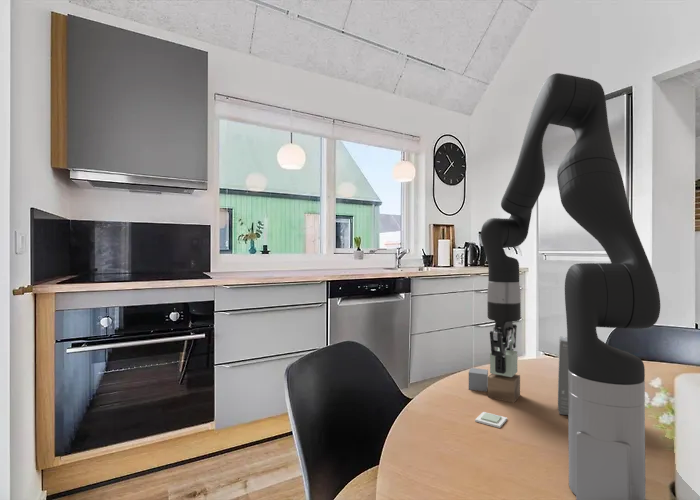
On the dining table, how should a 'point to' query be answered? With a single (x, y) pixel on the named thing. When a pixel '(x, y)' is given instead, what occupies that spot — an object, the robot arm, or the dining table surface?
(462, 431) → the dining table surface
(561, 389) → the skincare box
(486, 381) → the slate block
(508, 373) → the sage block
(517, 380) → the walnut block
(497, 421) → the tile
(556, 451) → the dining table surface
